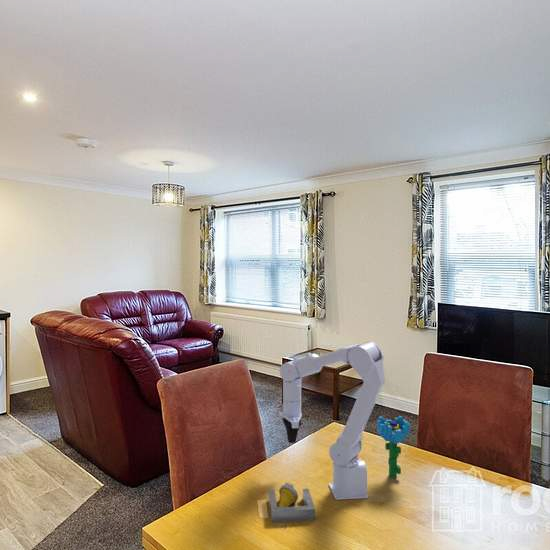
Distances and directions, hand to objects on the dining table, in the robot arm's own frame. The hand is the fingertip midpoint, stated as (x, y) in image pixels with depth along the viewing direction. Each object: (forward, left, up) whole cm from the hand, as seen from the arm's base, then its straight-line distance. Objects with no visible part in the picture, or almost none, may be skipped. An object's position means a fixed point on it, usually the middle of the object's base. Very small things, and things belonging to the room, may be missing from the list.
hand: (291, 442), depth 126 cm
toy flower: (-31, +5, -10) cm, 33 cm away
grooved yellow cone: (+1, +13, -6) cm, 15 cm away
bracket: (+3, +18, -10) cm, 21 cm away
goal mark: (+11, +18, -10) cm, 23 cm away
